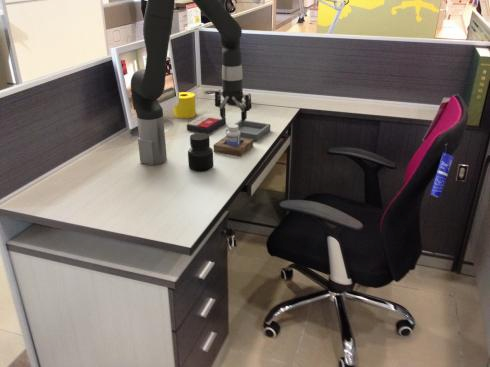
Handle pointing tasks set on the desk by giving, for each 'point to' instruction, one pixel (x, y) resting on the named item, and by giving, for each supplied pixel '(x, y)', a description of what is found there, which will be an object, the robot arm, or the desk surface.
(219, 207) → the desk surface
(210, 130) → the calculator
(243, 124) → the tray
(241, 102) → the robot arm
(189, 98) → the yellow piece
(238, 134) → the pill bottle
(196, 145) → the ink bottle
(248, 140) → the tray
